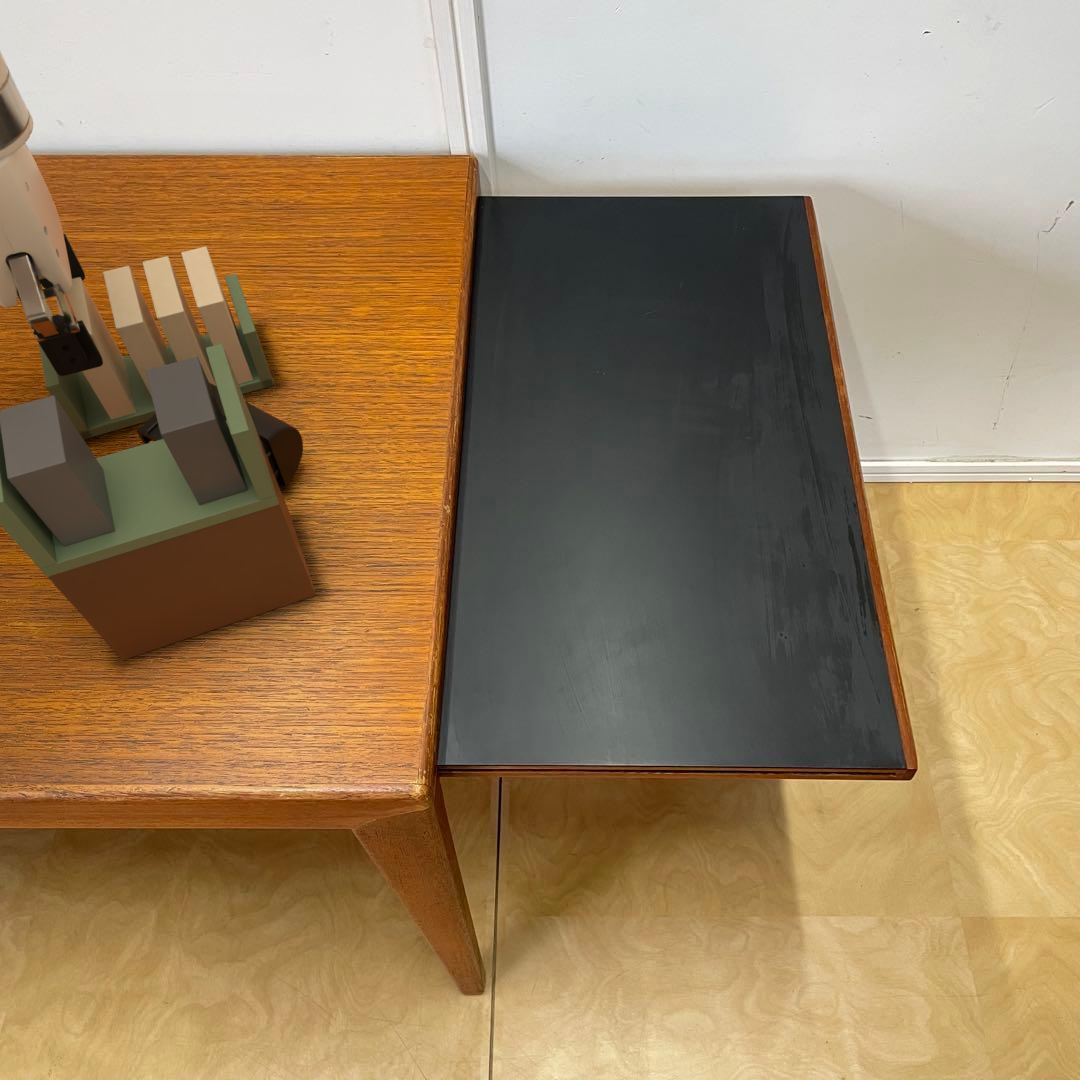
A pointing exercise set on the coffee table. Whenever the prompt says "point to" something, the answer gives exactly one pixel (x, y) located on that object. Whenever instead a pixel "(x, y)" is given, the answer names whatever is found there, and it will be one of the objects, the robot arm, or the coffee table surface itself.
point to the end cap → (273, 433)
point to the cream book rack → (179, 331)
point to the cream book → (112, 374)
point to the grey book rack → (155, 513)
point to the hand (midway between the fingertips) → (73, 324)
